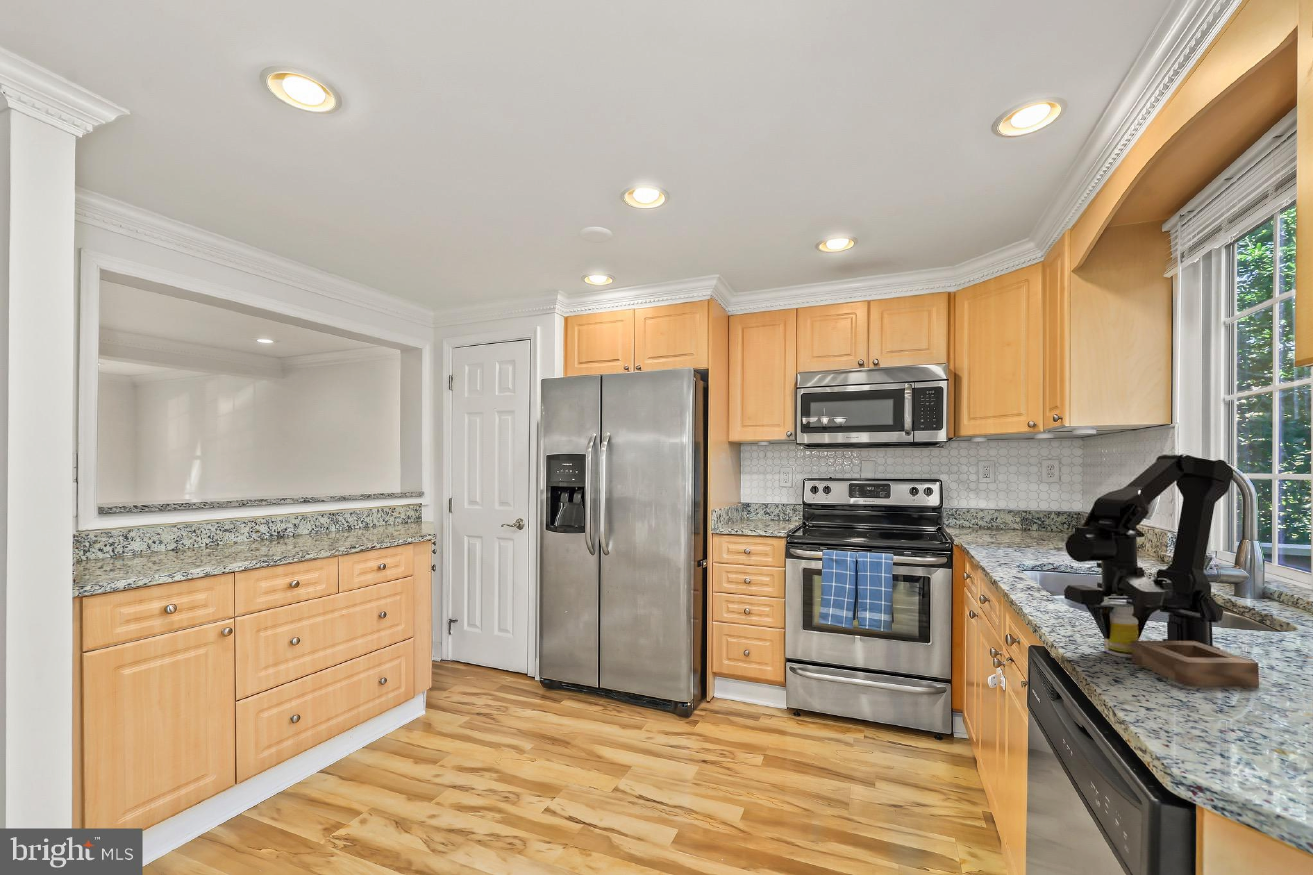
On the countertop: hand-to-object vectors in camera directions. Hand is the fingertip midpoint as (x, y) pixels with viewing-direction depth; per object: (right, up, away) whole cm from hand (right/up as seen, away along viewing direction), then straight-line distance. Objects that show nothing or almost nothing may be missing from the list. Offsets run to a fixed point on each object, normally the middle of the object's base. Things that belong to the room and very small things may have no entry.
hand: (1121, 638), depth 117 cm
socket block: (+4, -3, -11) cm, 12 cm away
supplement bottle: (0, -3, 0) cm, 3 cm away
